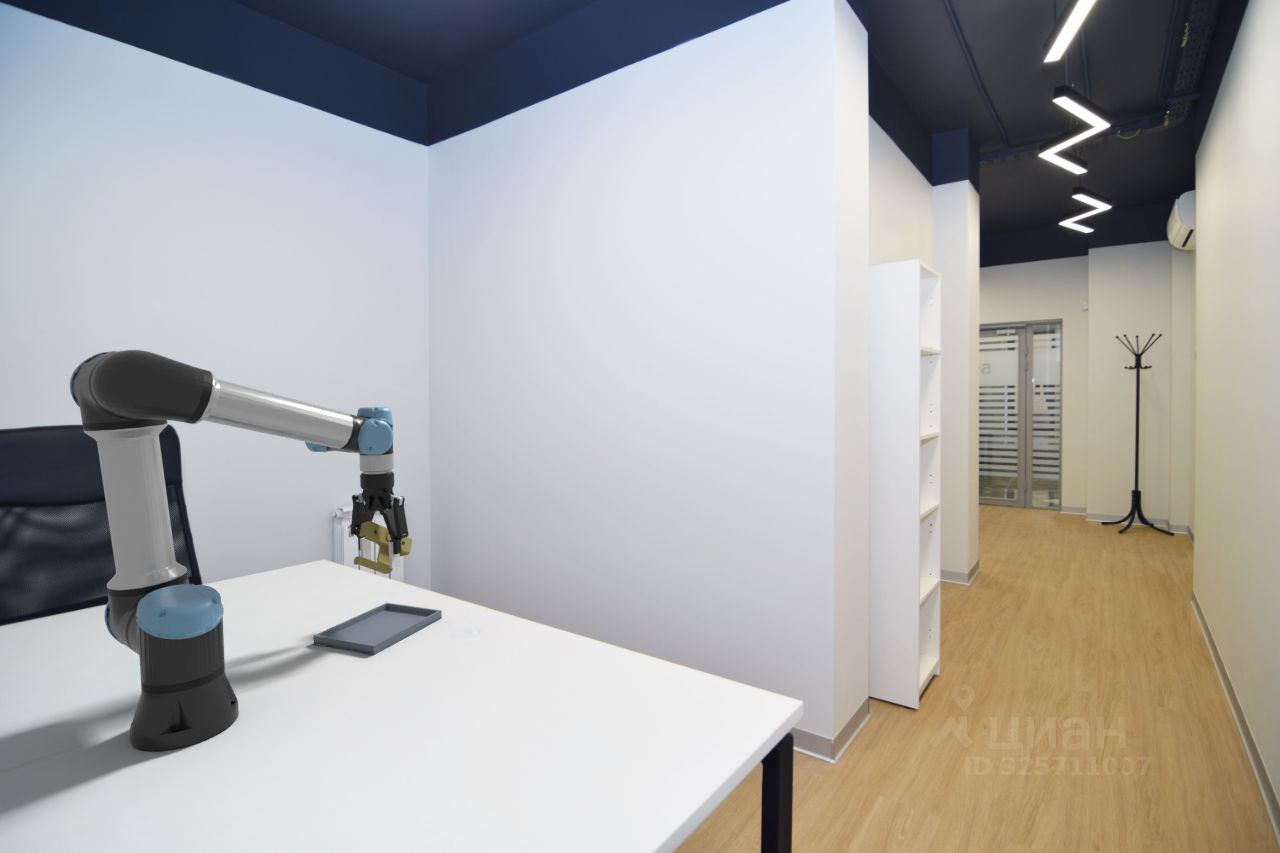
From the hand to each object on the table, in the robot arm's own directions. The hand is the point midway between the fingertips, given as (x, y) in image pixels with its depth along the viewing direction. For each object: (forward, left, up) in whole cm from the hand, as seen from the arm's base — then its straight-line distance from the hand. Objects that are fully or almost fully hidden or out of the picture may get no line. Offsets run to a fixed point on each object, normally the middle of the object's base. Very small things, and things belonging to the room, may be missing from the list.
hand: (380, 565), depth 151 cm
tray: (-1, -1, -16) cm, 16 cm away
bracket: (-1, +3, +3) cm, 4 cm away
